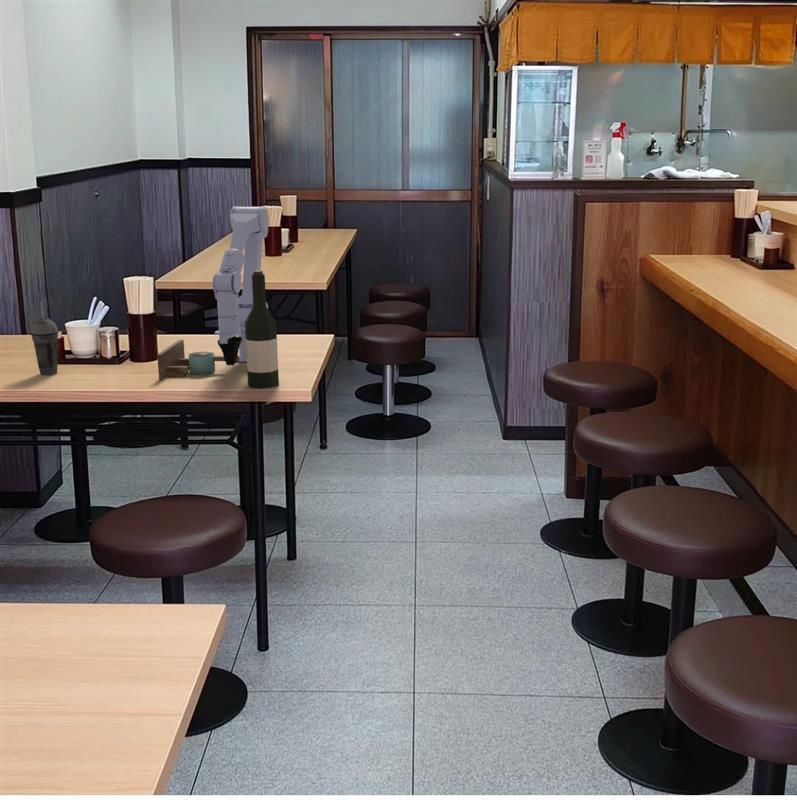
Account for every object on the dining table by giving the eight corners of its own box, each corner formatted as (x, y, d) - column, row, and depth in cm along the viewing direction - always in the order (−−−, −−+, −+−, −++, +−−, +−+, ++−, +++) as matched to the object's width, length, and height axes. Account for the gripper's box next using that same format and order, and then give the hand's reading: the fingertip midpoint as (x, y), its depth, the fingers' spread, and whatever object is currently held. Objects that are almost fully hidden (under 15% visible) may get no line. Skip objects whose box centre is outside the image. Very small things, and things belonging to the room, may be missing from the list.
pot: (186, 374, 278) (185, 356, 277) (193, 368, 285) (192, 351, 284) (236, 375, 277) (235, 357, 275) (242, 369, 284) (241, 351, 282)
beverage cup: (35, 377, 276) (27, 305, 271) (34, 372, 283) (26, 301, 278) (63, 375, 279) (56, 303, 274) (61, 369, 286) (54, 299, 280)
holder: (203, 363, 291) (201, 339, 289) (182, 380, 272) (180, 354, 270) (181, 363, 292) (179, 339, 290) (159, 379, 272) (157, 354, 270)
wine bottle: (251, 380, 270) (246, 268, 263) (282, 381, 269) (277, 268, 262) (243, 388, 262) (237, 273, 255) (275, 388, 261) (270, 273, 254)
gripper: (221, 311, 284) (224, 358, 287) (207, 320, 270) (210, 370, 273) (245, 311, 283) (248, 358, 286) (232, 320, 269) (235, 370, 273)
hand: (231, 364), depth 280 cm, fingers closed on pot, 2 cm apart
